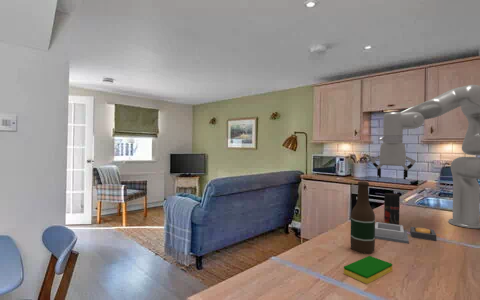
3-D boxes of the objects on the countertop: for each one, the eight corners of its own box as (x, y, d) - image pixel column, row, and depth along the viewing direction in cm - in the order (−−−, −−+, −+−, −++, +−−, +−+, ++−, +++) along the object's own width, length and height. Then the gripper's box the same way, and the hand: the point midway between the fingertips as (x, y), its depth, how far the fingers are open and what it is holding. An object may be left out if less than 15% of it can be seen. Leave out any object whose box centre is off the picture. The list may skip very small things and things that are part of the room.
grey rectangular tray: (372, 228, 118) (372, 220, 118) (406, 233, 111) (406, 224, 111) (369, 237, 106) (370, 228, 106) (408, 243, 99) (408, 234, 99)
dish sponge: (343, 274, 76) (343, 266, 76) (369, 262, 84) (369, 255, 84) (366, 285, 70) (367, 276, 70) (392, 271, 78) (393, 263, 78)
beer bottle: (373, 247, 96) (373, 180, 95) (376, 255, 88) (377, 183, 88) (349, 244, 98) (350, 179, 98) (351, 252, 91) (352, 182, 90)
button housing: (410, 231, 113) (410, 226, 113) (433, 234, 109) (433, 229, 109) (411, 237, 106) (411, 231, 106) (436, 240, 102) (436, 235, 102)
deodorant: (401, 229, 116) (401, 195, 115) (386, 228, 117) (387, 195, 117) (396, 225, 122) (396, 193, 121) (382, 224, 123) (382, 192, 122)
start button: (414, 231, 111) (415, 226, 111) (429, 233, 109) (429, 228, 109) (415, 235, 107) (416, 230, 107) (431, 237, 104) (431, 232, 104)
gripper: (370, 140, 120) (369, 177, 120) (416, 139, 111) (415, 180, 111) (371, 140, 126) (371, 176, 126) (415, 140, 118) (414, 178, 118)
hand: (391, 178), depth 119 cm, fingers open, 9 cm apart
